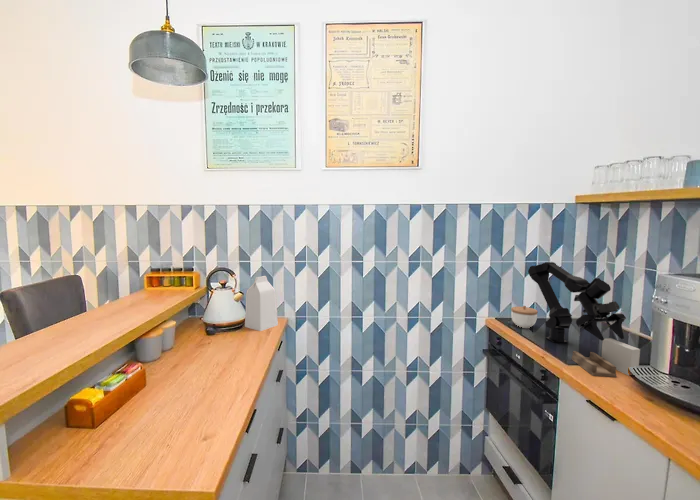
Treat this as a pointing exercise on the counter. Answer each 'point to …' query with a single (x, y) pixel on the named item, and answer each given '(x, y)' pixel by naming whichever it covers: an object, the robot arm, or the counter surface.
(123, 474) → the counter surface
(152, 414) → the counter surface
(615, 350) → the clay slab
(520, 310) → the lidded bowl
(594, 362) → the flanged channel block
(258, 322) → the milk
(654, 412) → the counter surface
